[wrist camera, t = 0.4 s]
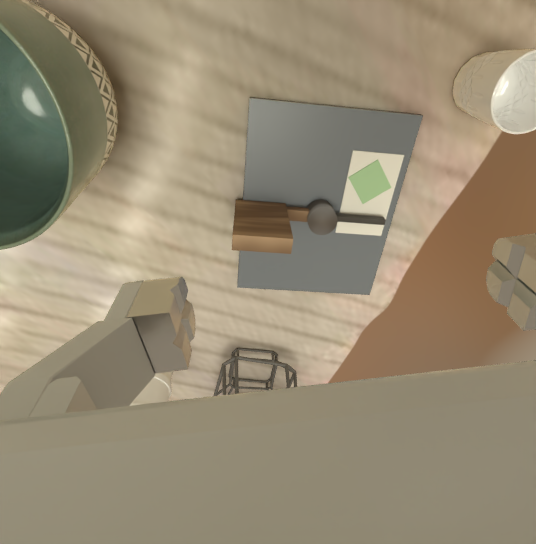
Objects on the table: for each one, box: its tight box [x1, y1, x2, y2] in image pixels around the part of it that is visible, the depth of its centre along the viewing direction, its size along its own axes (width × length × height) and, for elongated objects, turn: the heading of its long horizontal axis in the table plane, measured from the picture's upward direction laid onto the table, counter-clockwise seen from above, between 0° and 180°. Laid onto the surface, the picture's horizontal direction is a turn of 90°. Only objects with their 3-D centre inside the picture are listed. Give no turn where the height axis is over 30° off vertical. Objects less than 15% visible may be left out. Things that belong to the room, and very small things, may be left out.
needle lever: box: [232, 199, 386, 254], centre depth 48 cm, size 4×21×11 cm, turn 84°
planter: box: [0, 0, 118, 250], centre depth 36 cm, size 20×20×21 cm
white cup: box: [452, 49, 536, 134], centre depth 42 cm, size 8×8×10 cm
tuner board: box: [237, 97, 423, 295], centre depth 53 cm, size 28×22×1 cm
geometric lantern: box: [214, 348, 297, 396], centre depth 56 cm, size 16×16×35 cm
